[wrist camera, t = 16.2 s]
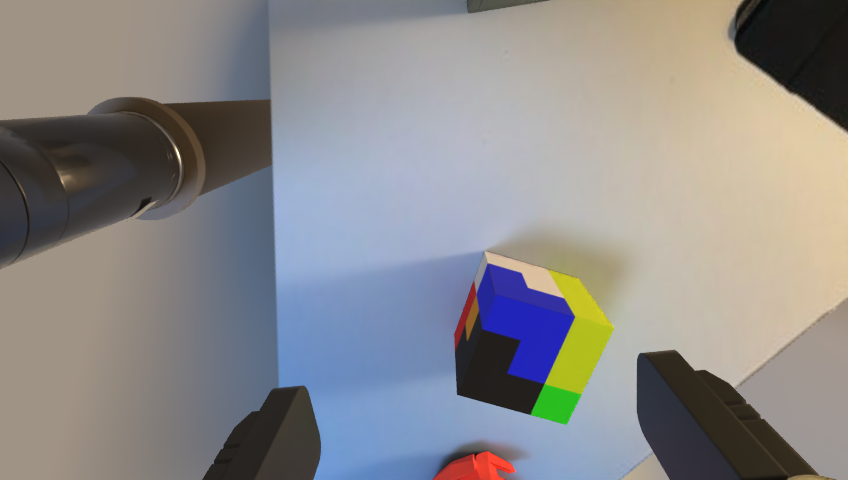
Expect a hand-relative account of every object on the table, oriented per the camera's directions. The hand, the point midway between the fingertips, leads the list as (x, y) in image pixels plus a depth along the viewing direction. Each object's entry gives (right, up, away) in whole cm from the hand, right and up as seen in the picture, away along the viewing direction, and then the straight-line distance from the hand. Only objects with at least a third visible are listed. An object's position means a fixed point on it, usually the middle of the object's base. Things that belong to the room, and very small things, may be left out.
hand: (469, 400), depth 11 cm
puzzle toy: (+8, -3, +36) cm, 37 cm away
